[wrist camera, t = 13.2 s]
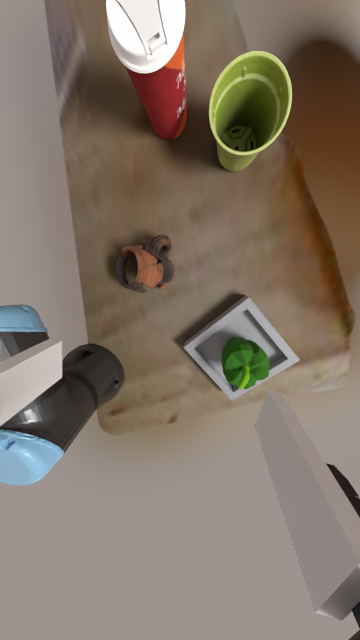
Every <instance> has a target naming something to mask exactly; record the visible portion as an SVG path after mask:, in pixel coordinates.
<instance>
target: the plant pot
mask: <svg viewBox="0 0 360 640" xmlns="http://www.w3.org/2000/svg"><path fill="white" fill-rule="evenodd" d="M291 101H292V89H291V82H290V78H289V75H288V73H287V70H286V69H285V67H284V65H283V64H282V63H281V62H280V60H279V59H278V58H276V57H275V56H274V55H272V54H270V53H266V52H261V51H252V52H248V53H245V54H243V55H241V56H239V57H237V58H236V59H235V60H233V61H232V62H231V63H230V64H229V65H228V66H227V67H226V68H225V69H224V71H223V72H222V73H221V75H220V76H219V78H218V80H217V82H216V84H215V86H214V88H213V91H212V94H211V98H210V104H209V121H210V127H211V130H212V133H213V135H214V138H215V139H216V142H217V152H218V158H219V161H220V163H221V165H222V166H223V167H224V168H226V169H227V170H228V171H232V172H237V171H240V170H243V169H244V168H246V167H247V166H248V165H249V164H250V163H251V162H252V160H253V159H254V158H255V157H256V155H257V154H258V153H259V152H260V151H262V150H263V149H265V148H266V147H267V146H269V145H270V144H271V143H272V142H273V141H274V140H275V139H276V137H277V136H278V135H279V133H280V132H281V130H282V129H283V127H284V125H285V123H286V121H287V118H288V115H289V112H290V108H291ZM238 129H239V130H240V132H235V133H232V131H234V130H238ZM251 141H252V142H253V150H252V151H250V150H251V143H250V142H251ZM236 146H238V147H239V149H238V150H236V149H235V148H236Z"/></svg>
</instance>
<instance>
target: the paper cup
mask: <svg viewBox="0 0 360 640" xmlns="http://www.w3.org/2000/svg"><path fill="white" fill-rule="evenodd" d="M106 9H107V17H108V29H109V35H110V40H111V43H112V46H113V48H114V51H115V53H116V55H117V56H118V58H119V59H120V61H121V62H122V63H123V64H124V65H125V67H126V69H127V71H128V73H129V76H130V78H131V80H132V82H133V84H134V86H135V89H136V91H137V93H138V95H139V97H140V99H141V101H142V104H143V106H144V108H145V110H146V112H147V114H148V116H149V118H150V121H151V123H152V125H153V127H154V129H155V130H156V132H157V134H158V135H159V136H160V137H161V138H163V139H166V140H172V139H175V138H177V137H178V136H179V135H180V134H181V133H182V132H183V130H184V128H185V125H186V119H187V105H186V82H185V62H184V42H183V29H184V23H185V2H184V0H106Z"/></svg>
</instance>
